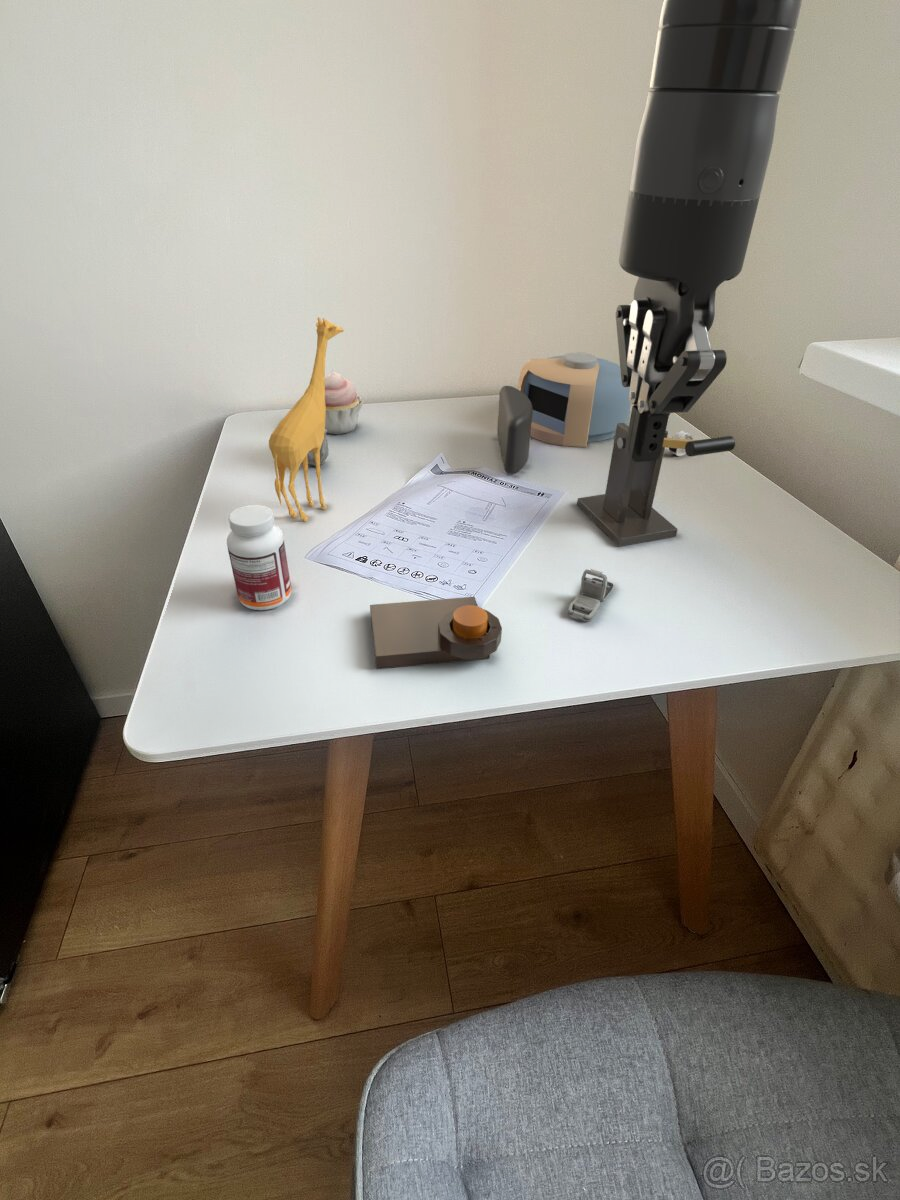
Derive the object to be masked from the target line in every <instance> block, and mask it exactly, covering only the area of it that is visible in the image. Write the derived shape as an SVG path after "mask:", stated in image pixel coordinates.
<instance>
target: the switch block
mask: <svg viewBox="0 0 900 1200" xmlns="http://www.w3.org/2000/svg"><path fill="white" fill-rule="evenodd" d="M466 605H473V606H478V603H477V599H476V597H475V596H465V597H452V598H440V599H438V598H437V599H427V600H414V601H413V600H412V601H402V602H389V603H379V604H378V603H376V604H375V603H374V604H370V605H369V611H370V613H369V614H370V622H371V623H370V624H371V632H372V641H373V651H374V657H375V667H376V670H378V669H379V670H380V669H389V668H403V667H411V666H412V667H413V666H422V665H434V664H446V663H455V662H467V661H477V660H479V661H480V660H488V659H490V658H491V655H492V654H493V653H495V652H497V651H498V648H499V646H500V644H501V642H502V634H503V627H502V625H501V621H500V619H499V618H498V617H497V616H495V614H493V613H492V612H490V611H489V610H487V609H484V610H485V611H486V612H487V615H488V622H487V631H486V633H485V634H484V635H483V636H482V637H480V638H472V639H467V638H463V637H459V636H457V635H456V634H455V633H454V631H453V613H454V611H455V610H456V609H457V608H459V607H462V606H466Z"/></svg>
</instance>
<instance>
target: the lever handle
mask: <svg viewBox="0 0 900 1200" xmlns="http://www.w3.org/2000/svg"><path fill="white" fill-rule="evenodd" d="M735 446H736V440H735V438H734V436H732V435H727V436H718V437H711V438H703V439H692V440H690V439H685V438H681V439H675V438H672V437H667V438H664V441H663V446H662V447H665V448H667V449H669V448H678V449H679V450H682V449H685V452H686V454H685V455H686V456H688V457H698V456H705V455H712V454H718V453H725V452H731V451H733V450H734V449H735Z"/></svg>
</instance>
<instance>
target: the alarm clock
mask: <svg viewBox="0 0 900 1200" xmlns="http://www.w3.org/2000/svg"><path fill="white" fill-rule="evenodd" d="M517 385H518V386H517V389H518V390H520V391H521V392H523V393H524V394H525V395H526V396H527V397H528V398H529V400H530V401H531V404H532V408H533V412H532V423H531V434H530V438H533V439H535V440H538V441H542V442H544V443H547V444H551V445H558V446H564V447H579V448H587V446H588V443H596V442H602V441H605V440H608V439H611V438H613V437H615V433H616V427H617V423H625V424H626V425H627V423H628V421H629V416H630V411H631V405H632V404H630V402H629V389H630V387H623V386H622V381H621V370H620V364H617V363H616V362H613V361H610V360H608V359H604V358H600V357H596V356H595V355H594V354H592V353H587V352H582V351H581V352H580V351H574V352H568V353H565V354H564V355H556V356H551V357H547V358H531V359H530V360H529V361H527V362H526V363H525V364H524V366H522V368H521V370H520V374H519V377H518V384H517Z"/></svg>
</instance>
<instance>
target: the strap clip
mask: <svg viewBox="0 0 900 1200" xmlns="http://www.w3.org/2000/svg"><path fill="white" fill-rule="evenodd" d="M587 575H590V576H593V577H592V578H590V577H586V576H587ZM580 582H581V583H580V584H581V585H580V593H581V594H578V595H576V597H575V598H574V599H573V600H572V601H571V602H570V604H569V606H568V609H567V615H568V616H570V617H572V618H575V619H578V620H581V621H585V622H591V621H592V620H593V619H595V617H596V615H597V613H598V612H599V609H600V606H601V602H604V601H605V600H607V598H608V597H609V596H610V594H611V593H612V591H613V588H614V583H612V582H610V581H608V577H607V575H606V574H604V573H603V571H599V570H596V569H593V568H590V569H585V570H584V571H583V572H582V575H581V581H580Z"/></svg>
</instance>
